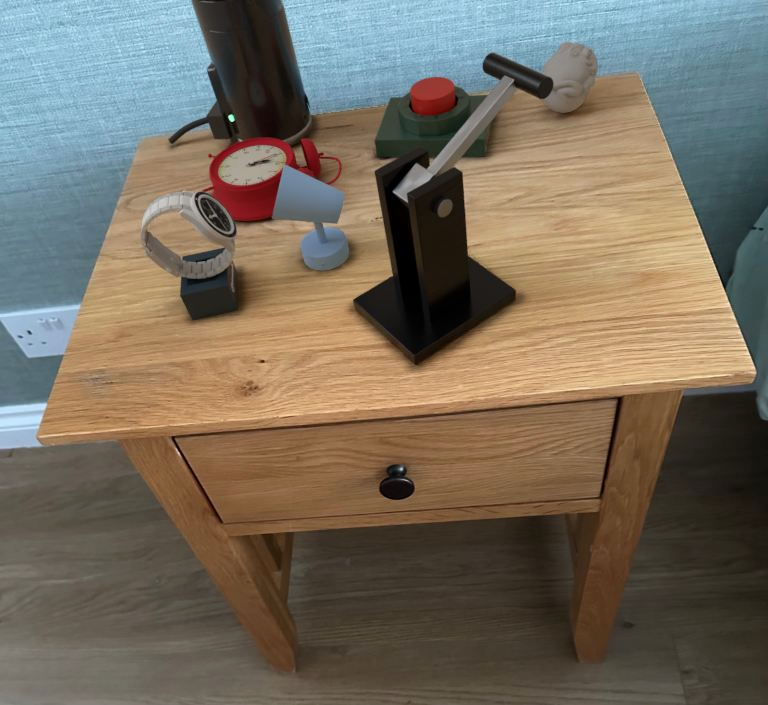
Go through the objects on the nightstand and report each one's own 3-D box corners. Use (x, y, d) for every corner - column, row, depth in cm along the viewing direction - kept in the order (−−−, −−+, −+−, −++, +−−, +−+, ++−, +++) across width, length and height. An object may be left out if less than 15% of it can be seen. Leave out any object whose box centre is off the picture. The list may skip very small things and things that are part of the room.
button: (408, 117, 75) (406, 100, 74) (416, 94, 78) (414, 77, 77) (452, 116, 74) (451, 98, 73) (458, 93, 77) (457, 75, 76)
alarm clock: (205, 142, 78) (327, 101, 73) (234, 187, 82) (350, 151, 77) (182, 199, 71) (315, 158, 66) (214, 244, 75) (341, 209, 71)
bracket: (450, 251, 65) (438, 118, 55) (516, 299, 60) (516, 162, 50) (354, 308, 62) (323, 179, 52) (415, 365, 57) (393, 233, 46)
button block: (377, 157, 78) (371, 125, 75) (392, 114, 83) (388, 82, 80) (485, 157, 75) (483, 123, 72) (493, 112, 80) (492, 79, 77)
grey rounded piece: (606, 102, 78) (613, 41, 73) (568, 130, 76) (572, 69, 71) (562, 87, 82) (565, 28, 77) (524, 114, 79) (524, 55, 74)
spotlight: (284, 275, 66) (355, 269, 66) (255, 188, 59) (335, 180, 58) (290, 241, 70) (358, 235, 69) (263, 155, 62) (339, 147, 61)
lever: (502, 65, 54) (490, 43, 52) (558, 90, 50) (548, 68, 48) (392, 197, 55) (377, 181, 53) (440, 231, 51) (425, 215, 50)
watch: (258, 305, 64) (221, 209, 56) (173, 323, 64) (123, 230, 56) (256, 266, 68) (221, 171, 60) (176, 283, 68) (129, 190, 60)
